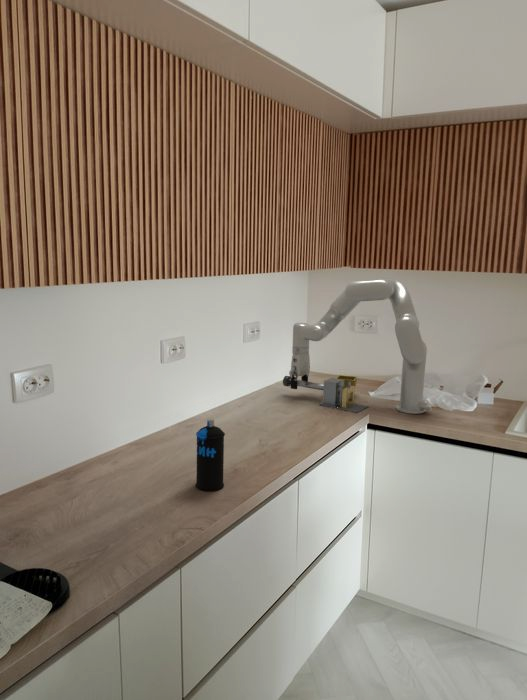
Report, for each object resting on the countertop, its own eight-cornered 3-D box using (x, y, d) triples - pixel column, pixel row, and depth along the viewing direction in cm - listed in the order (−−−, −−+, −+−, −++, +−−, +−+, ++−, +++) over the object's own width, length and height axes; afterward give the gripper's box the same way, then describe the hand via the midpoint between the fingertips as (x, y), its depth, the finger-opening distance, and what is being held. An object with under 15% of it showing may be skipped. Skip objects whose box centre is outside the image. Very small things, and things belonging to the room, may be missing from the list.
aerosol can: (209, 478, 177) (210, 413, 173) (229, 485, 171) (231, 419, 168) (189, 486, 170) (189, 419, 167) (210, 494, 165) (210, 425, 162)
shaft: (342, 394, 262) (342, 383, 261) (337, 396, 258) (337, 385, 257) (288, 384, 277) (288, 374, 276) (282, 386, 273) (283, 376, 272)
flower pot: (334, 397, 275) (335, 378, 273) (337, 393, 283) (338, 374, 281) (353, 399, 272) (354, 380, 270) (356, 395, 280) (357, 376, 279)
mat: (368, 407, 259) (368, 406, 259) (357, 413, 250) (357, 412, 249) (347, 403, 265) (347, 402, 265) (336, 409, 255) (336, 408, 255)
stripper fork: (349, 404, 263) (350, 381, 261) (341, 408, 255) (342, 385, 254) (348, 404, 263) (349, 381, 261) (339, 408, 256) (340, 385, 254)
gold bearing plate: (353, 404, 261) (355, 386, 260) (345, 408, 254) (346, 389, 253) (349, 403, 262) (350, 385, 261) (341, 408, 255) (342, 389, 254)
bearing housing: (346, 403, 265) (347, 379, 263) (335, 408, 256) (336, 383, 254) (330, 400, 269) (331, 376, 267) (319, 405, 260) (320, 381, 258)
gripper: (298, 353, 259) (296, 391, 262) (316, 348, 273) (315, 384, 276) (283, 351, 263) (282, 389, 266) (302, 346, 277) (301, 382, 280)
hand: (299, 386), depth 271 cm, fingers open, 9 cm apart
